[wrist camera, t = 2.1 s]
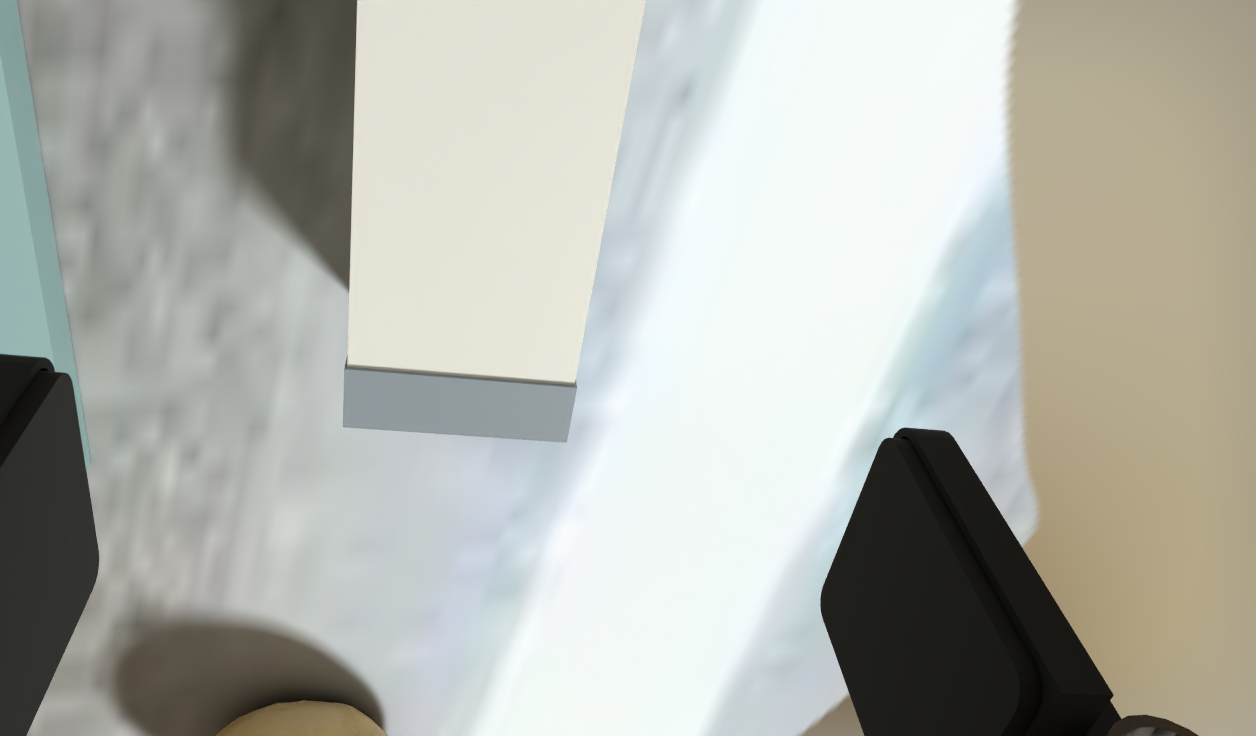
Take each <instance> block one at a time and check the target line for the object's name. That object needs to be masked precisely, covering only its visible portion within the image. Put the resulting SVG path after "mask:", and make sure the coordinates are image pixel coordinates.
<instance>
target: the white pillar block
mask: <svg viewBox="0 0 1256 736" xmlns="http://www.w3.org/2000/svg"><path fill="white" fill-rule="evenodd" d="M645 3H646V0H357V30H356V67H355V104H354V141H353V177H352V214H351V251H350V288H349V324H348V355H347V359H346V364H345V369H344V405H343V427H348V428H363V429H377V430H392V431H406V432H421V433H435V434H450V435H464V436H479V437H493V438H508V439H522V440H537V441H551V442H566V443H567V438H568V433H569V427H570V422H571V417H572V411H573V406H574V401H575V395H576V390H577V385H576V374H577V368H578V363H579V358H580V352H581V347H582V342H583V336H584V331H585V325H586V320H587V315H588V309H589V304H590V299H591V293H592V288H593V282H594V277H595V272H596V266H597V261H598V256H599V250H600V245H601V239H602V234H603V229H604V223H605V218H606V212H607V207H608V202H609V196H610V191H611V186H612V180H613V175H614V169H615V164H616V159H617V153H618V148H619V143H620V137H621V132H622V126H623V121H624V116H625V110H626V105H627V99H628V94H629V89H630V83H631V78H632V73H633V67H634V62H635V56H636V51H637V46H638V40H639V35H640V30H641V24H642V19H643V13H644V8H645Z"/></svg>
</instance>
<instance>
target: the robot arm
mask: <svg viewBox="0 0 1256 736" xmlns="http://www.w3.org/2000/svg"><path fill="white" fill-rule="evenodd" d="M98 567H99V550H98V544H97V537H96V531H95V524H94V518H93V511H92V505H91V498H90V492H89V485H88V479H87V472H86V466H85V459H84V453H83V446H82V440H81V433H80V427H79V420H78V414H77V407H76V401H75V394H74V388H73V383H72V379H71V377H70V375H69V374H67V373H63V372H55V369H54V366H53V364H52V362H51V361H50V360H49V359H47V358H45V357H33V356H20V355H8V354H0V736H26V735H27V733H28V731H29V728H30V726H31V724H32V722H33V720H34V717H35V715H36V713H37V711H38V709H39V706H40V704H41V702H42V700H43V698H44V695H45V693H46V691H47V689H48V687H49V684H50V682H51V680H52V678H53V676H54V674H55V671H56V669H57V667H58V665H59V663H60V660H61V658H62V656H63V654H64V652H65V649H66V647H67V645H68V643H69V641H70V638H71V636H72V634H73V632H74V630H75V627H76V625H77V623H78V621H79V619H80V616H81V614H82V612H83V610H84V608H85V605H86V603H87V601H88V599H89V597H90V594H91V592H92V590H93V587H94V585H95V582H96V578H97V574H98ZM821 613H822V617H823V620H824V623H825V626H826V629H827V632H828V635H829V637H830V640H831V643H832V646H833V649H834V651H835V654H836V657H837V660H838V663H839V665H840V668H841V671H842V674H843V677H844V679H845V682H846V685H847V688H848V691H849V693H850V696H851V699H852V702H853V705H854V707H855V710H856V713H857V716H858V719H859V722H860V724H861V727H862V730H863V733H864V735H865V736H1198V735H1197V734H1195V733H1194V732H1192V731H1191V730H1189V729H1187V728H1185V727H1183V726H1180V725H1178V724H1176V723H1174V722H1172V721H1169V720H1167V719H1163V718H1158V717H1154V716H1149V715H1133V716H1127V717H1125V718H1123V719H1121V718H1120V716H1119V714H1118V713H1117V711H1116V709H1115V708H1114V706H1113V704H1112V703H1111V701H1110V700H1111V698H1112V697H1113V693H1112V692H1111V690H1110V689H1109V687H1108V685H1107V684H1106V682H1105V680H1104V679H1103V677H1102V676H1101V674H1100V672H1099V671H1098V669H1097V668H1096V666H1095V664H1094V663H1093V661H1092V659H1091V658H1090V656H1089V655H1088V653H1087V652H1086V650H1085V648H1084V647H1083V645H1082V643H1081V642H1080V640H1079V639H1078V637H1077V635H1076V634H1075V632H1074V631H1073V629H1072V627H1071V626H1070V624H1069V623H1068V621H1067V619H1066V618H1065V616H1064V615H1063V613H1062V611H1061V610H1060V608H1059V606H1058V605H1057V603H1056V602H1055V600H1054V598H1053V597H1052V595H1051V593H1050V592H1049V590H1048V589H1047V587H1046V586H1045V584H1044V582H1043V581H1042V579H1041V577H1040V576H1039V574H1038V573H1037V571H1036V569H1035V568H1034V566H1033V565H1032V563H1031V561H1030V560H1029V559H1028V557H1027V555H1026V553H1025V552H1024V550H1023V548H1022V547H1021V545H1020V544H1019V542H1018V540H1017V539H1016V537H1015V536H1014V534H1013V532H1012V531H1011V529H1010V528H1009V526H1008V524H1007V523H1006V521H1005V519H1004V518H1003V516H1002V515H1001V513H1000V511H999V510H998V508H997V507H996V505H995V503H994V502H993V500H992V499H991V497H990V495H989V494H988V492H987V491H986V489H985V487H984V486H983V484H982V482H981V481H980V479H979V478H978V476H977V474H976V473H975V471H974V470H973V468H972V466H971V465H970V463H969V462H968V460H967V458H966V457H965V455H964V454H963V452H962V450H961V449H960V447H959V445H958V444H957V442H956V441H955V439H954V438H953V436H952V435H951V434H950V433H948V432H946V431H940V430H928V429H916V428H902V429H900V430H899V431H898V432H897V433H895V435H894V437H893V438H886V439H884V440H883V441H882V443H881V445H880V446H879V449H878V451H877V454H876V456H875V459H874V461H873V463H872V466H871V468H870V471H869V473H868V476H867V478H866V481H865V483H864V486H863V488H862V491H861V493H860V496H859V498H858V501H857V503H856V506H855V508H854V511H853V513H852V516H851V518H850V521H849V523H848V526H847V528H846V531H845V533H844V536H843V538H842V541H841V543H840V546H839V548H838V550H837V553H836V555H835V558H834V560H833V563H832V565H831V568H830V570H829V573H828V575H827V578H826V580H825V583H824V585H823V588H822V592H821Z"/></svg>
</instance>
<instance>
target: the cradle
mask: <svg viewBox="0 0 1256 736" xmlns="http://www.w3.org/2000/svg"><path fill="white" fill-rule="evenodd" d="M0 354H8V355H20V356H33V357H45V358H47V359H49V360H50V361H51V362H52V364H53V366H54V369H55V372H63V373H67V374H69V375H70V377H71V379H72V383H73V388H74V394H75V401H76V407H77V414H78V420H79V427H80V433H81V440H82V446H83V453H84V459H85V466H86V472H87V470H88V468H89V466H90V464H91V460H90V454H89V448H88V442H87V435H86V429H85V423H84V417H83V410H82V404H81V398H80V392H79V385H78V379H77V373H76V367H75V360H74V354H73V348H72V342H71V336H70V329H69V323H68V317H67V311H66V304H65V298H64V292H63V286H62V279H61V273H60V267H59V261H58V254H57V248H56V242H55V236H54V229H53V223H52V217H51V211H50V204H49V198H48V192H47V186H46V179H45V173H44V167H43V161H42V155H41V148H40V142H39V136H38V130H37V123H36V117H35V111H34V105H33V98H32V92H31V86H30V80H29V73H28V67H27V61H26V55H25V48H24V42H23V36H22V30H21V23H20V17H19V11H18V5H17V0H0Z"/></svg>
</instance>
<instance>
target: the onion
mask: <svg viewBox="0 0 1256 736" xmlns="http://www.w3.org/2000/svg"><path fill="white" fill-rule="evenodd" d="M215 736H388V735H387V734H386V733H385V732H384V731H383V730H382V729H381V728H380V727H379V726H378V725H377V724H376V723H375V722H374V721H373V720H371V719H370V718H369V717H368V716H366V715H365V714H364V713H362V712H360V711H359V710H357V709H356V708H355V707H352V706H349V705H346V704H343V703H337V702H336V703H330V702H321V701H306V700H302V701H297V702H291V703H288V702H286V703H275V704H273V705H270V706H266V707H264V708H261V709H257V710H254V711H252V712H250V713H248V714H246V715H244V716H240V717H239V718H237V719H236V720H233V721H232V722H231V723H230V724H228V725H227V726H226V727H224V728H223V729H222V730H221V731H219V732H218V733H217V734H216V735H215Z"/></svg>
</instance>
